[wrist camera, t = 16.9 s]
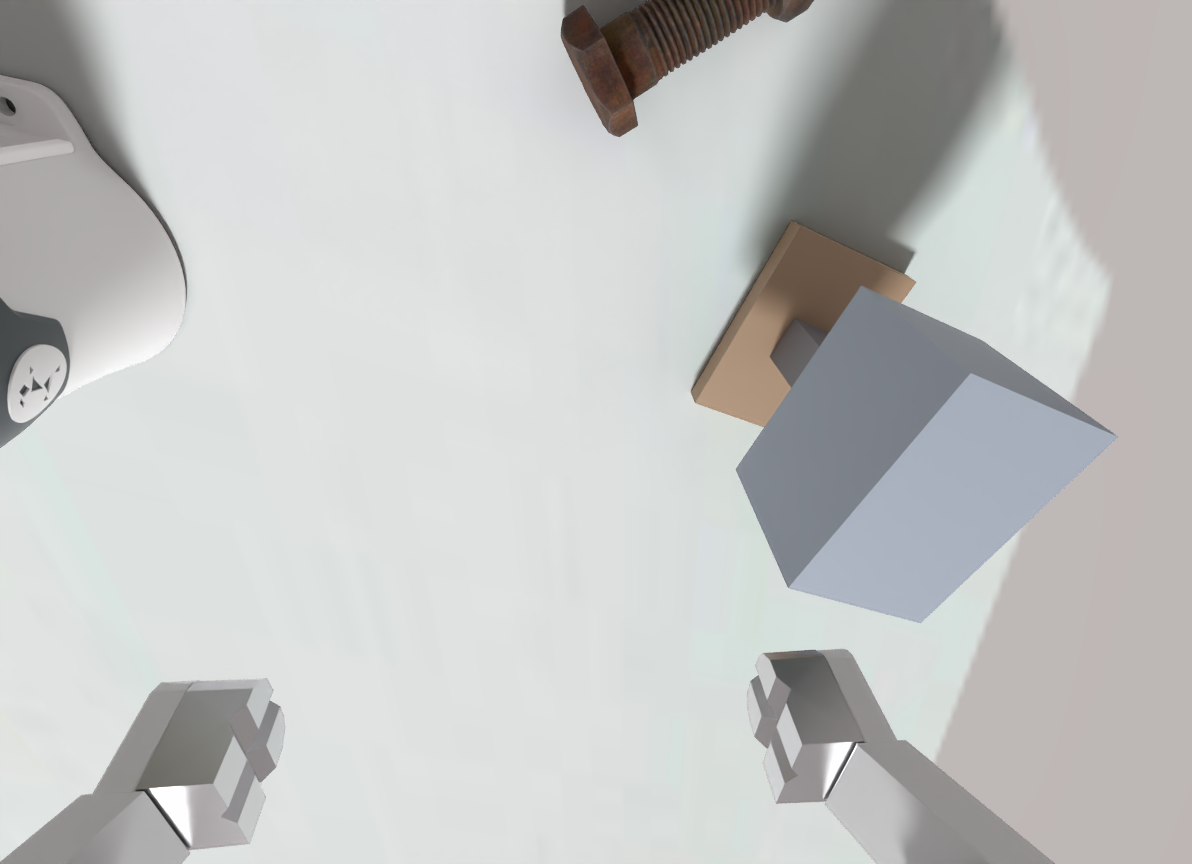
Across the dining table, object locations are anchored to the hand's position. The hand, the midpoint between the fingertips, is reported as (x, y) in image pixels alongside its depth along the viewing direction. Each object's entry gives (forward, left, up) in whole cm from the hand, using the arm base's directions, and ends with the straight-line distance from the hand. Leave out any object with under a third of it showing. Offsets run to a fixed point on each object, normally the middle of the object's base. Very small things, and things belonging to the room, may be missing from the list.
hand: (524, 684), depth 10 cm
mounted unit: (+19, -1, -31) cm, 36 cm away
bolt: (+5, +13, -31) cm, 34 cm away
